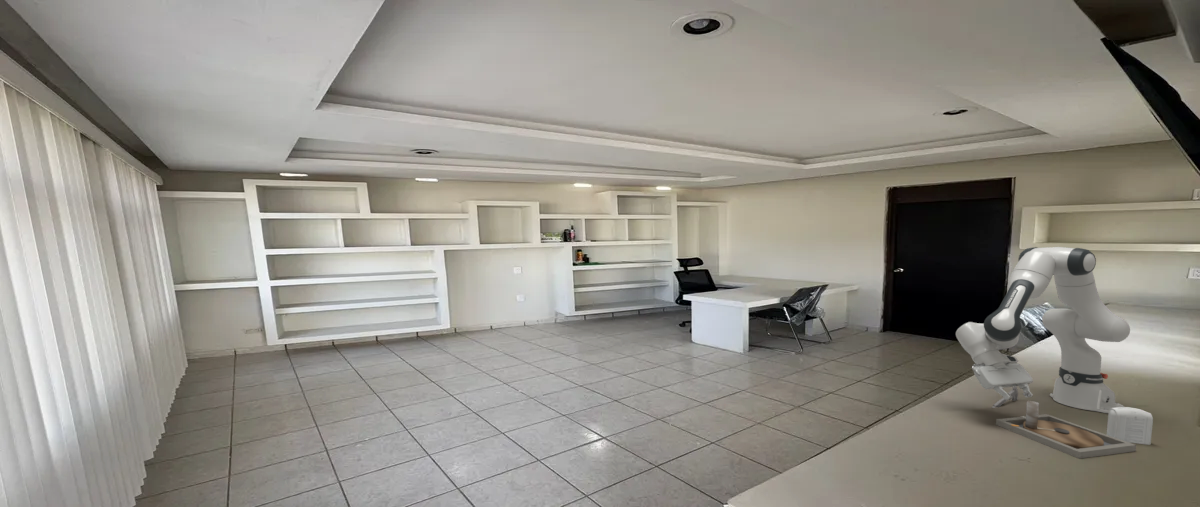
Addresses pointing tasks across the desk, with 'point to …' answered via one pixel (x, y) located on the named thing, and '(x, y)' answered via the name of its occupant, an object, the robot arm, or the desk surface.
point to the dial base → (1110, 444)
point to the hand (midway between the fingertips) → (1019, 397)
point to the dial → (1059, 430)
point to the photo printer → (1130, 425)
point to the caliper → (1014, 397)
